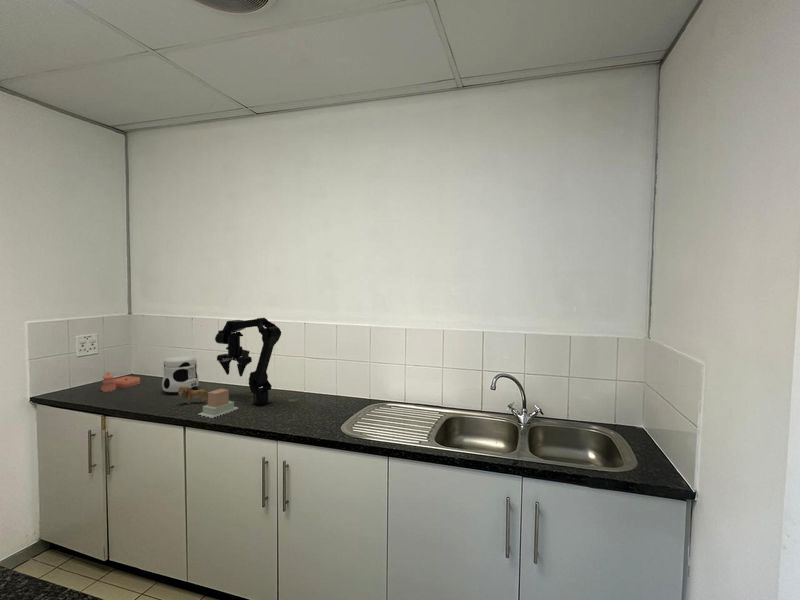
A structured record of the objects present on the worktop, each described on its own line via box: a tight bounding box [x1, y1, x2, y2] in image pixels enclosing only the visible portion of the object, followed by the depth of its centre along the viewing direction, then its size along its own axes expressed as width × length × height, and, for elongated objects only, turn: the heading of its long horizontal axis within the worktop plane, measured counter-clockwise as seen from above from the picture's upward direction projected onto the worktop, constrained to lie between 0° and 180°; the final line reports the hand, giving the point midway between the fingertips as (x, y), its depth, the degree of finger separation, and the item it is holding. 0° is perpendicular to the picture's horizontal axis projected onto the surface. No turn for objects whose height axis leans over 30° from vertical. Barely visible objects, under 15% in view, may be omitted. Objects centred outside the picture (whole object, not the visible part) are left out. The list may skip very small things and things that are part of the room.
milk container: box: [161, 355, 199, 394], centre depth 212 cm, size 17×17×18 cm
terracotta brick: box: [207, 388, 230, 407], centre depth 179 cm, size 5×7×6 cm
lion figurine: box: [177, 386, 208, 405], centre depth 192 cm, size 15×5×9 cm, turn 112°
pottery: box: [100, 372, 141, 393], centre depth 218 cm, size 18×10×10 cm, turn 165°
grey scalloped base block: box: [198, 400, 239, 419], centre depth 179 cm, size 9×14×4 cm, turn 155°
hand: (234, 375), depth 199 cm, fingers open, 9 cm apart
